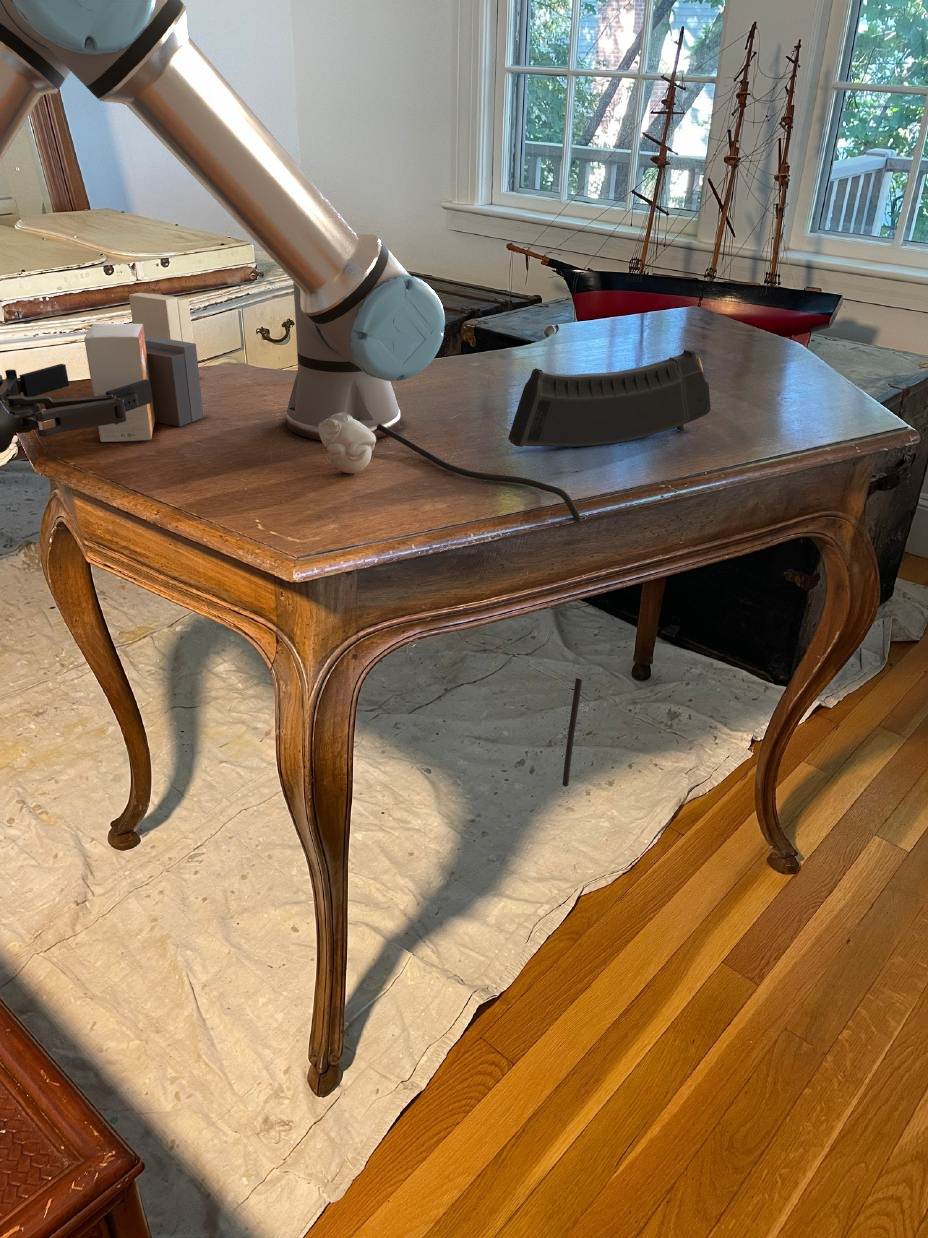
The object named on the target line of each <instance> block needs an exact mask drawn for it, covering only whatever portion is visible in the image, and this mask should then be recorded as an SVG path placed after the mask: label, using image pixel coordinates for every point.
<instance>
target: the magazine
mask: <svg viewBox="0 0 928 1238" xmlns="http://www.w3.org/2000/svg"><path fill="white" fill-rule="evenodd" d="M711 409H712V406H711V393H710V383H709V382H708V381H707V380H706V378H705V373H704V370H703V365H702V361H701V358H700V356H697V353H696V351H695V350H692V349H690V348H686V349H683V352H682V353H681V354H678V355H675V356H670V357H668V358H667V359H664V360H660V361H657V362H654V363H650V364H648V365H643V366H640V367H634V368H630V369H629V368H628V369H624V370H617V371H610V372H597V373H596V372H595V373H594V372H593V373H578V374H577V373H576V374H569V373H568V374H565V373H552V372H547V371H543V370H542V369H541V368H538V367H535V368H533V369H532V371H531V374H530V376H529V379H528V380H527V382H526V383H525V384H524V387H523V390H522V393H521V396H520V399H519V402H518V405H517V409H516V411H515V415H514V418H513V421H512V424H511V428H510V430H509V434H508V437H507V438H508V441H509V442H510V443H511V444H512V445H514V446H516V447H520V448H523V447H556V448H558V447H559V448H561V447H562V448H573V447H574V448H577V447H578V448H579V447H597V446H604V445H606V446H607V445H613V444H620V443H625V442H631V441H635V440H638V439H639V440H640V439H644V438H647V437H651V436H653V435H657V434H659V433H663V432H667V431H669V430H673V429H675V428H676V429H677V430H678V431H681V432H684V431H685V427H684V426H685V425H686V424H688V423H691V422H693V421H696V420H698V419H700V418H702V417H704V416H707V415H709V413H710V412H711Z"/></svg>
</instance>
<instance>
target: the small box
mask: <svg viewBox="0 0 928 1238" xmlns="http://www.w3.org/2000/svg"><path fill="white" fill-rule="evenodd" d="M83 340H84V347H85V352H86V359H87V365H88V372H89V377H90V383H91V389H92V390H91V391H92V396H103V395H106V392H107V391H110V390H113V389H116V388H120V387H123V386H126V385H129V384H132V383H135V382H138V381H141V380H145V379H146V380H150V377H149V369H148V361H147V353H146V345H145V337H144V329H143V324H133V323H93V324H92V325H90V327H89V329H87V332H86V334H85V336H84V339H83ZM125 413H126V419H127V421H125V422H122V423H119V424H116V425H115V424H108V425H102V426H97V428H98V435H99V441H100V442H101V443H109V442H110V443H111V442H113V443H114V442H138V441H151V440H152V438H153V432H154V427H155V423H156V422H155V415H154V408H153V402H152V403H149V404H147V405H144V406H141V407H138V408H135V409H132V410H129V411H127V412H125Z"/></svg>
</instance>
